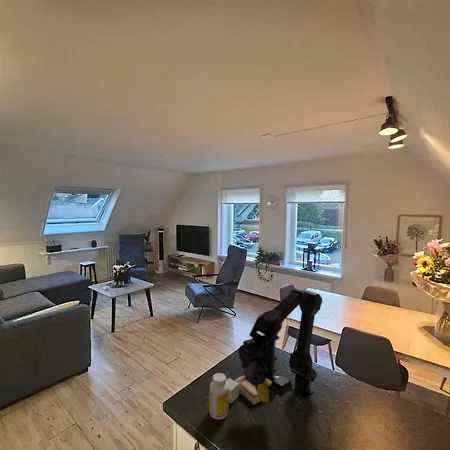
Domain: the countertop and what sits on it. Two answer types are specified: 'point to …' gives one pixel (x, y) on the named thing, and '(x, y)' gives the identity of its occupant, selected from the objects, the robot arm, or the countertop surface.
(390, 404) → the countertop surface
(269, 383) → the lemon
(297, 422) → the countertop surface
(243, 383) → the square tray
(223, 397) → the supplement bottle
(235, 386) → the ceramic cube
